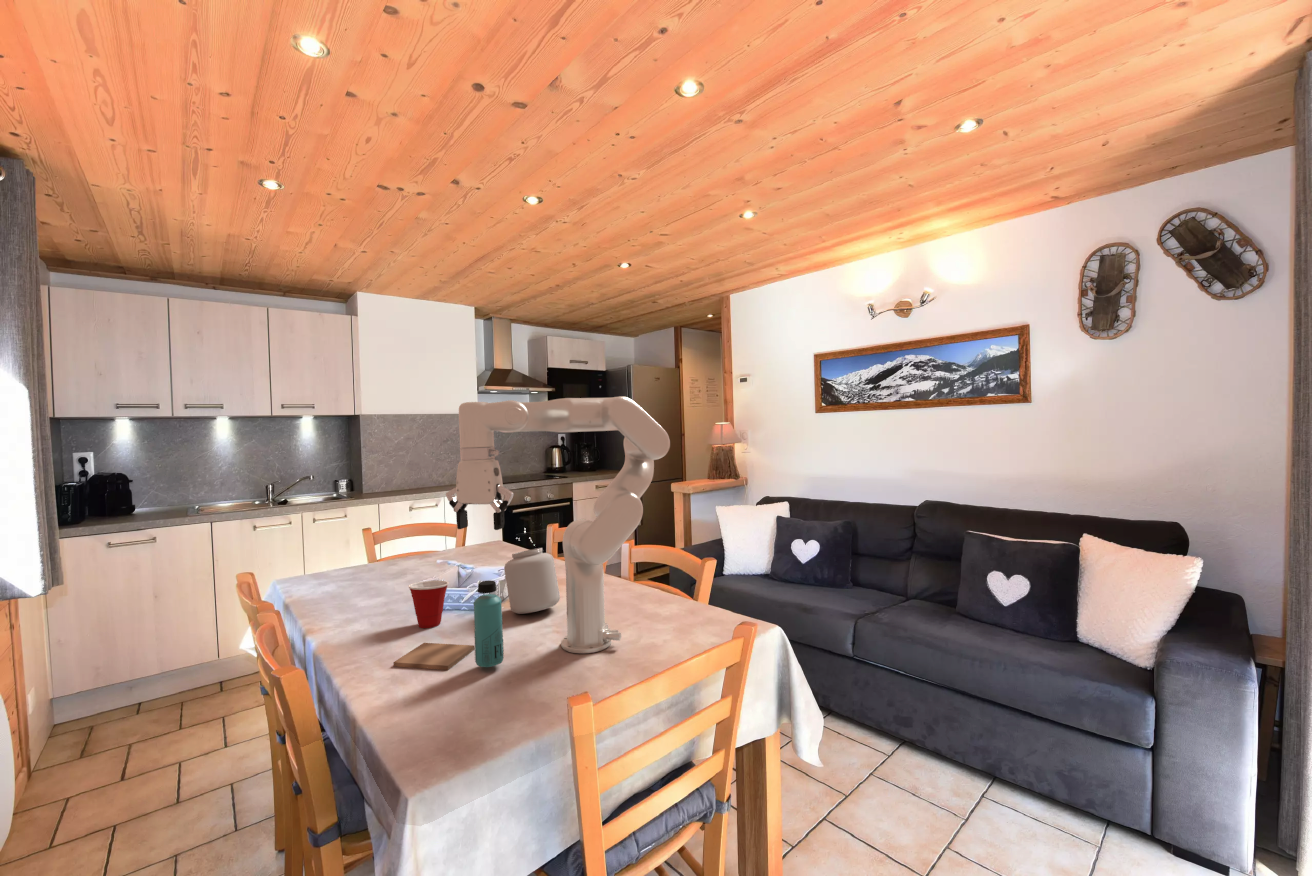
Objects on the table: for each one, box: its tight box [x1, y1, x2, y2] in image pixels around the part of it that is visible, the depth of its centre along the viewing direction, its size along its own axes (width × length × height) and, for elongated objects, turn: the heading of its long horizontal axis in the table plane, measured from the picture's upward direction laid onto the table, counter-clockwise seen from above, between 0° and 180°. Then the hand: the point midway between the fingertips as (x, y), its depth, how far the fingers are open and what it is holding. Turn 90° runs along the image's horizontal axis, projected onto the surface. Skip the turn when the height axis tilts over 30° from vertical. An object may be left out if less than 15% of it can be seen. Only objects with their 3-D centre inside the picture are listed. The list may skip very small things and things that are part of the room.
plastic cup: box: [407, 580, 450, 629], centre depth 159 cm, size 11×11×12 cm
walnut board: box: [393, 642, 475, 671], centre depth 135 cm, size 14×12×1 cm
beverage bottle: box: [473, 579, 505, 668], centre depth 129 cm, size 6×7×20 cm
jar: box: [501, 527, 561, 615], centre depth 169 cm, size 19×15×25 cm
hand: (480, 528), depth 130 cm, fingers open, 9 cm apart
